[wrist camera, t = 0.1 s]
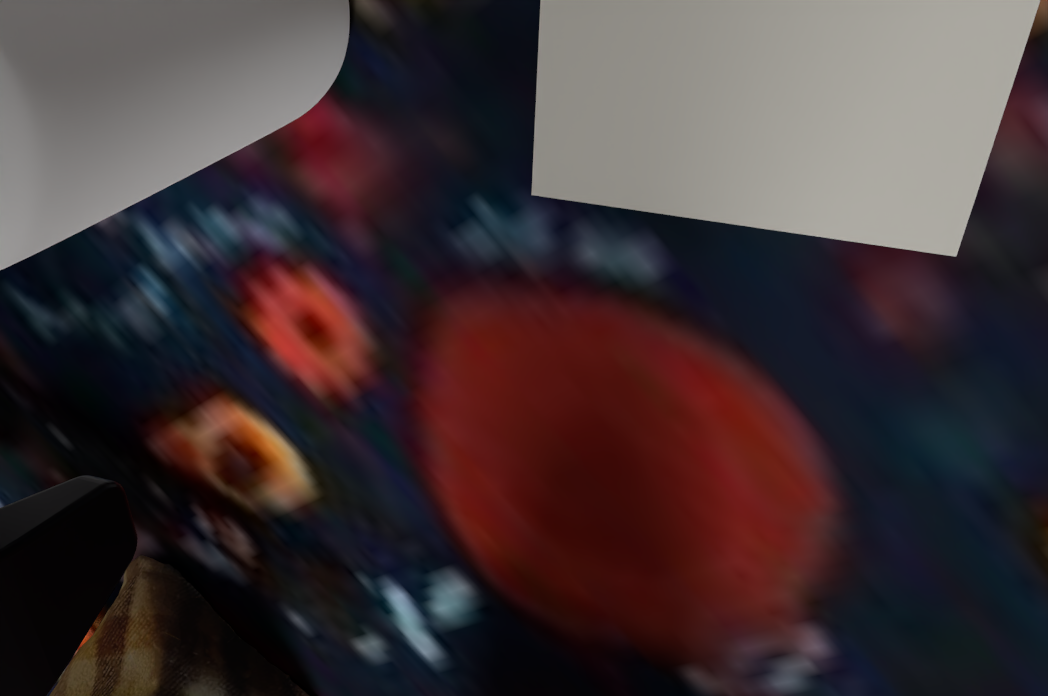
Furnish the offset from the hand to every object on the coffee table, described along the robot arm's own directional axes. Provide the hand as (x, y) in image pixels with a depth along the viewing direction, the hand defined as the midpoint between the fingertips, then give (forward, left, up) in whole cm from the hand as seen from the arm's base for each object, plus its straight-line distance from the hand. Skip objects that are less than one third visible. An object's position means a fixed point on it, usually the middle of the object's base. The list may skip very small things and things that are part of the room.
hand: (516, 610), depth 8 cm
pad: (+4, -1, -15) cm, 15 cm away
